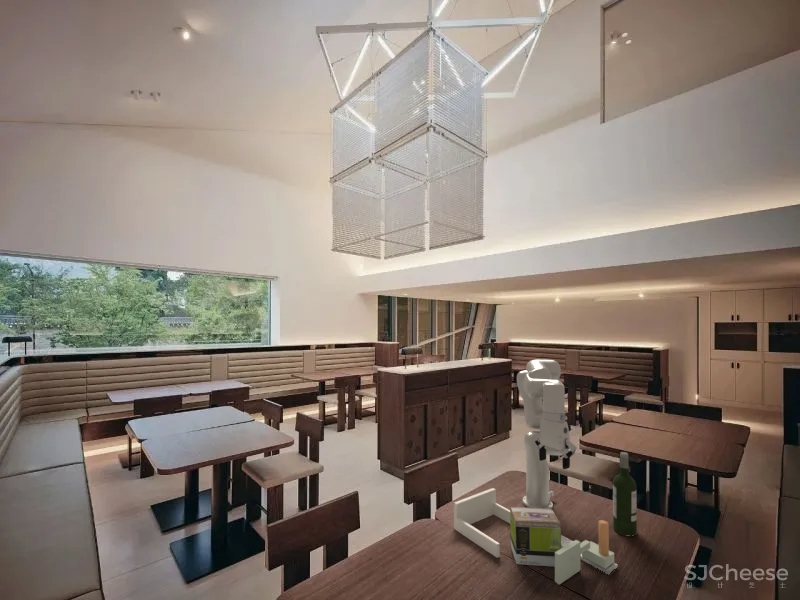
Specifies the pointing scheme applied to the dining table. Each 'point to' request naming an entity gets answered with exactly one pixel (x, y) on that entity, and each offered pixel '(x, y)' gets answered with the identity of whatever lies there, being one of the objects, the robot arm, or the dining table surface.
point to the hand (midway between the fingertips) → (554, 464)
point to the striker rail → (608, 570)
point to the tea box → (534, 535)
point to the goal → (479, 518)
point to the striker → (583, 554)
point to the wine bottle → (624, 500)
